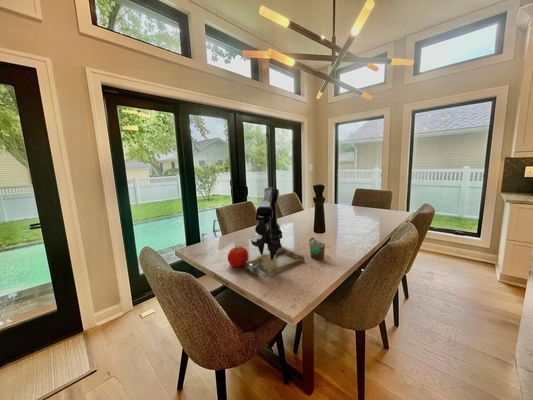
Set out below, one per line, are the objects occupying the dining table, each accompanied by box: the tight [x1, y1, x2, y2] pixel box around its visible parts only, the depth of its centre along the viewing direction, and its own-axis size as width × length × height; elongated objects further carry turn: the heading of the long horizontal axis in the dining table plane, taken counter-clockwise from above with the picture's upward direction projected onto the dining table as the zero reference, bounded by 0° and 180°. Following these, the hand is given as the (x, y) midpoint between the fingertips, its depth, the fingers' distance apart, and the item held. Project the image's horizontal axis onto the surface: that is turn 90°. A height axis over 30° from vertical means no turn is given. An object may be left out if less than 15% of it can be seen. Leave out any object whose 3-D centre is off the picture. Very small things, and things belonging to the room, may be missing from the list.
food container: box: [307, 237, 326, 261], centre depth 128 cm, size 12×6×10 cm, turn 21°
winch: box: [244, 259, 261, 278], centre depth 113 cm, size 13×6×6 cm, turn 37°
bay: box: [249, 247, 305, 277], centre depth 124 cm, size 18×26×3 cm
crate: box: [257, 251, 277, 272], centre depth 119 cm, size 6×8×6 cm
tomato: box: [227, 245, 249, 268], centre depth 122 cm, size 12×12×10 cm
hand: (266, 257), depth 119 cm, fingers open, 9 cm apart
